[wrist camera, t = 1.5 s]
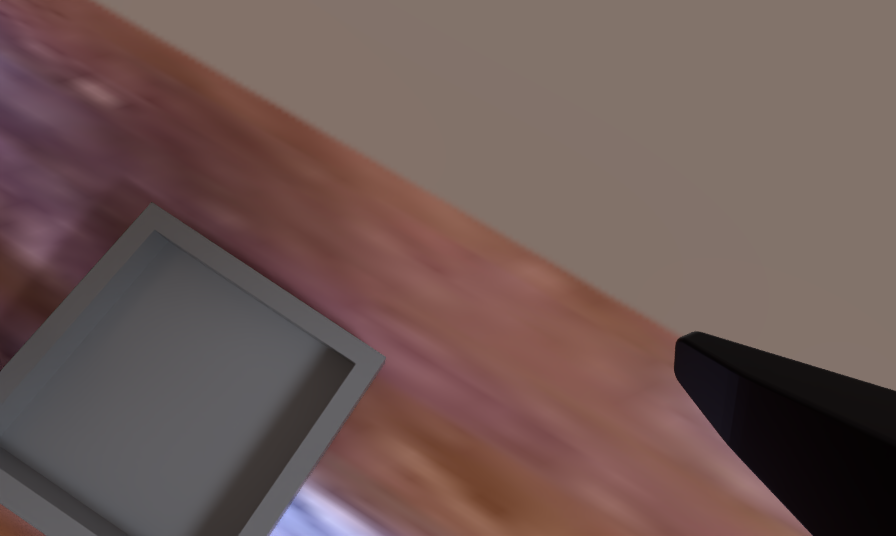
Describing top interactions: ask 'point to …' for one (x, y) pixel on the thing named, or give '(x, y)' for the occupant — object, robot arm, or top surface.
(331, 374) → the tray
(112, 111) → the top surface
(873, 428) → the robot arm
